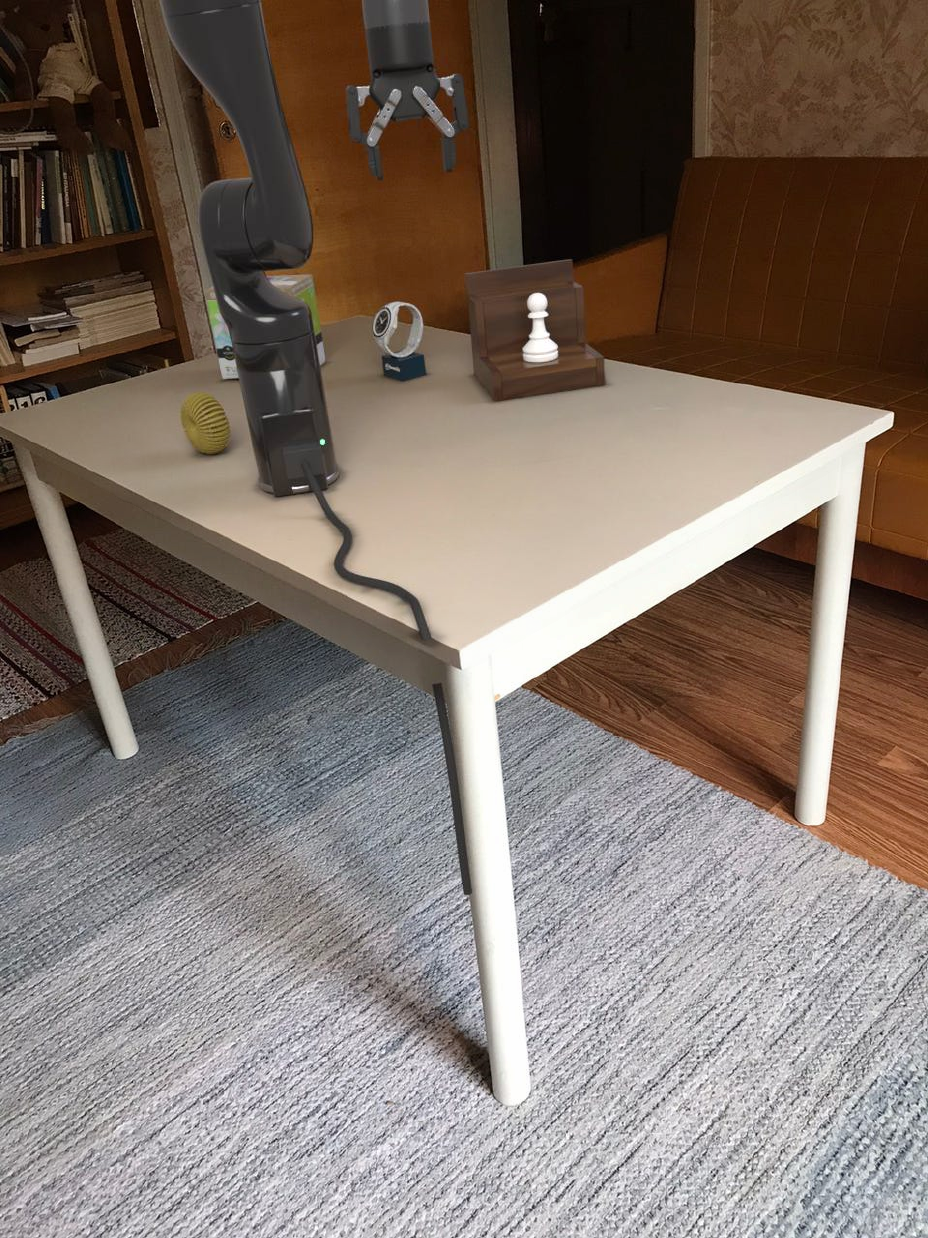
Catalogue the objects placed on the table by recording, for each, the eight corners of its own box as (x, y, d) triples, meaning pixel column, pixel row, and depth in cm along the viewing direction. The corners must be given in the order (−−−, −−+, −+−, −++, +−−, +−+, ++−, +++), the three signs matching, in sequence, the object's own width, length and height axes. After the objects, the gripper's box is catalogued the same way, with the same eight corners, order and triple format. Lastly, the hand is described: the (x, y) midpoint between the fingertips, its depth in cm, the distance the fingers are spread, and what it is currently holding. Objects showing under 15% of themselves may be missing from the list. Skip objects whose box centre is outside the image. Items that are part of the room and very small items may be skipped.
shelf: (605, 384, 142) (601, 274, 135) (494, 401, 140) (485, 290, 133) (575, 360, 155) (571, 258, 148) (474, 375, 153) (464, 273, 146)
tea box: (221, 381, 165) (201, 288, 158) (246, 365, 174) (229, 276, 167) (305, 379, 161) (289, 283, 154) (328, 362, 170) (313, 271, 163)
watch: (373, 378, 158) (363, 306, 152) (415, 366, 162) (407, 296, 156) (392, 384, 154) (382, 310, 148) (435, 371, 157) (427, 299, 152)
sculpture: (241, 453, 131) (228, 393, 127) (214, 463, 129) (200, 402, 125) (209, 443, 136) (196, 385, 132) (183, 452, 134) (168, 393, 130)
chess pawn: (517, 362, 142) (512, 297, 138) (530, 353, 146) (526, 289, 142) (551, 363, 140) (547, 296, 136) (563, 353, 144) (560, 288, 139)
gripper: (337, 27, 112) (359, 185, 119) (463, 13, 113) (476, 170, 121) (333, 30, 118) (353, 180, 126) (452, 18, 120) (465, 166, 127)
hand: (414, 175), depth 123 cm, fingers open, 8 cm apart
